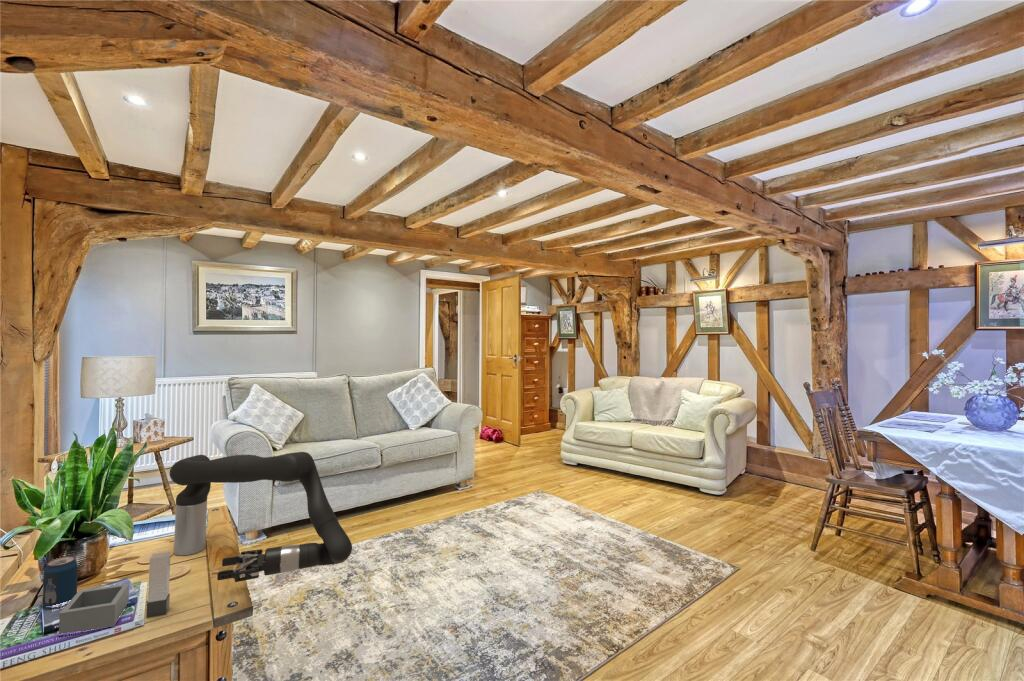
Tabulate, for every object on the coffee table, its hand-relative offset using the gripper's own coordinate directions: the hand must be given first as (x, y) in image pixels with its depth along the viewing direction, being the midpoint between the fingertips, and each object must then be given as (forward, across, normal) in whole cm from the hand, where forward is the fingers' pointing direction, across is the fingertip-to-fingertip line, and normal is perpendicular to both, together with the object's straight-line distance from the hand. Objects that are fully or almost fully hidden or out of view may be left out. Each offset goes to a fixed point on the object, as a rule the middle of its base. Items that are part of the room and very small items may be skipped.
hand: (219, 569), depth 132 cm
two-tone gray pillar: (+14, 0, +10) cm, 17 cm away
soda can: (+40, -15, +9) cm, 44 cm away
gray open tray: (+28, -2, +9) cm, 30 cm away
